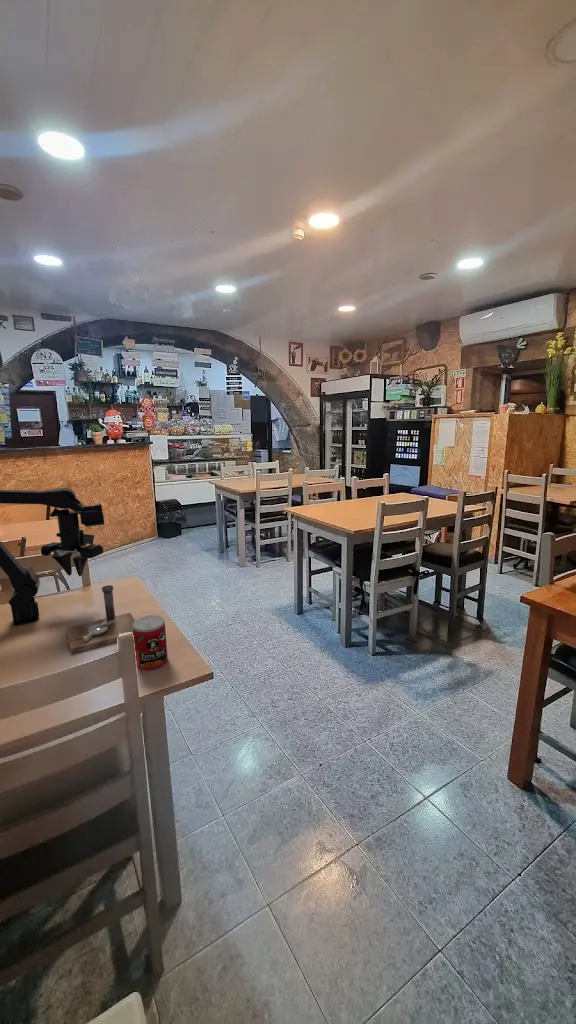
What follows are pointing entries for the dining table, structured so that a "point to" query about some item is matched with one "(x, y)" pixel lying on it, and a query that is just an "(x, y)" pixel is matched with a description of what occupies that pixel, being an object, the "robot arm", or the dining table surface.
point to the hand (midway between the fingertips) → (75, 575)
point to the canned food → (150, 642)
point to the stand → (79, 631)
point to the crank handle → (110, 615)
